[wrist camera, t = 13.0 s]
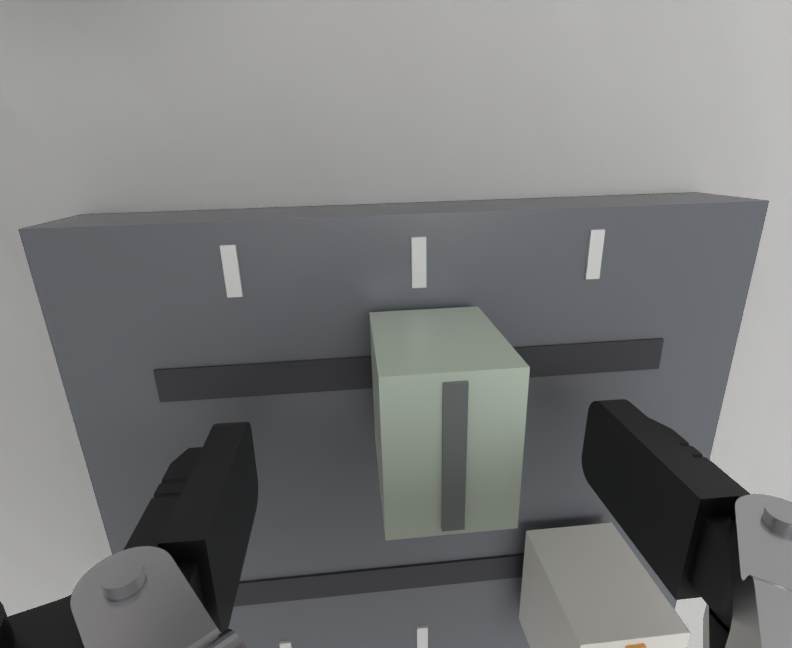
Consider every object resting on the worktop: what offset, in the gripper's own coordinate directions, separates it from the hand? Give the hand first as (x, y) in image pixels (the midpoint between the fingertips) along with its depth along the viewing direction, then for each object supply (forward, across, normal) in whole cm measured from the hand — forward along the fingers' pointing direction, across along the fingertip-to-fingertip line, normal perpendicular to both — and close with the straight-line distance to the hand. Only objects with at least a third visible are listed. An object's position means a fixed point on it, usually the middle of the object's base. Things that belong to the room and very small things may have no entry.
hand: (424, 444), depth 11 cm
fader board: (+6, 0, +4) cm, 7 cm away
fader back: (+3, -6, +8) cm, 10 cm away
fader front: (+3, 0, 0) cm, 3 cm away
